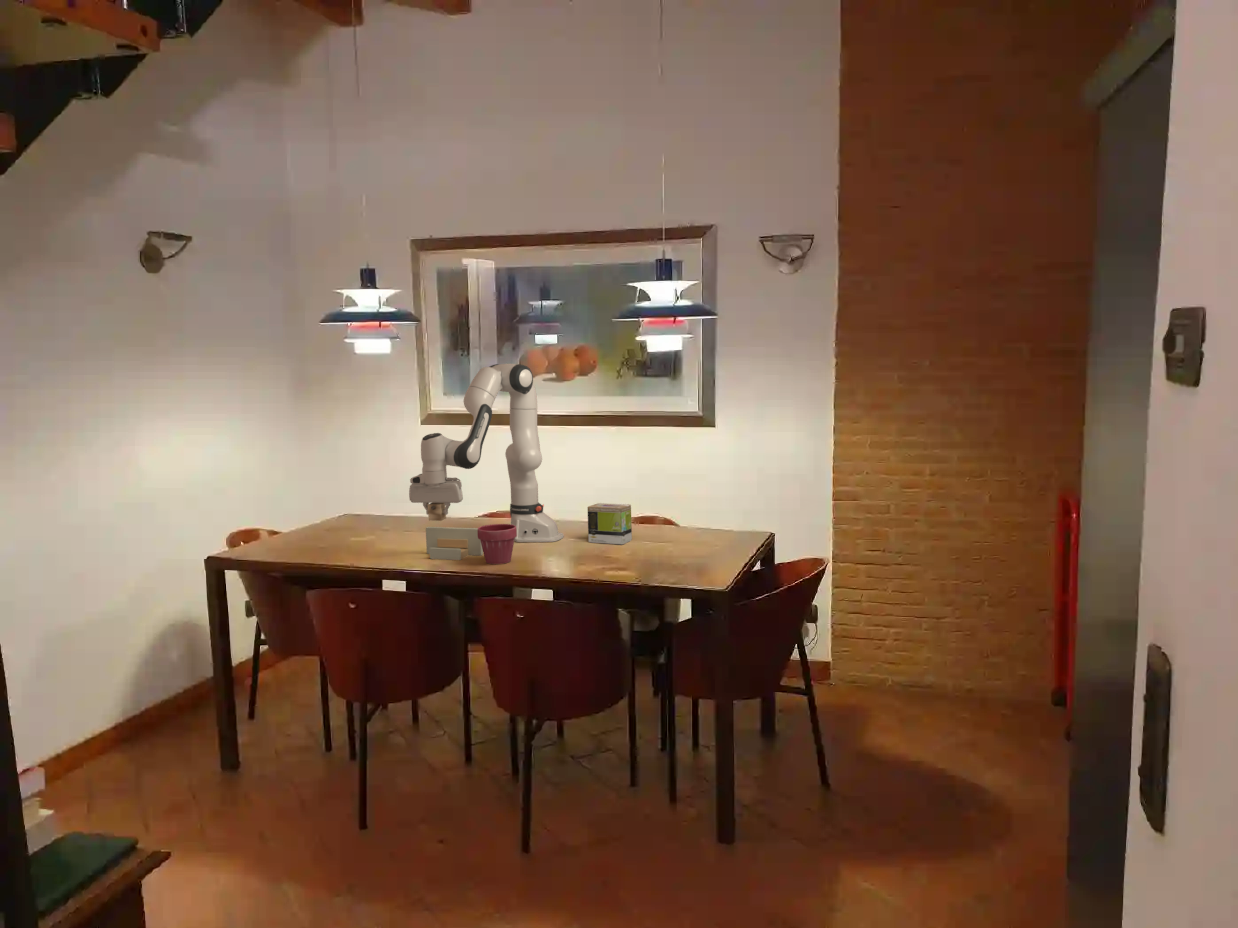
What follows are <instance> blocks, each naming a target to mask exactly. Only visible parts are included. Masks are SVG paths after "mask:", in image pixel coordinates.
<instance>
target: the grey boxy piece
mask: <svg viewBox="0 0 1238 928" xmlns="http://www.w3.org/2000/svg"><path fill="white" fill-rule="evenodd" d="M478 528H479V527H451V526H449V527H446V526H445V527H444V526H443V527H442V526H426V527H425V543H426V554H427V555H429V559H430V560H452V561H453V560H454V561H461V560H463V559H465V558H467V557H468V556H476V557H477V556H484V553H483V549H482V545H481V541H480V539H478Z"/></svg>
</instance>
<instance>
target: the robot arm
mask: <svg viewBox="0 0 1238 928" xmlns="http://www.w3.org/2000/svg"><path fill="white" fill-rule="evenodd" d="M499 392H503V393H504V392H505V393H508V394H509V397H510V400H509V429H510V433H511V440H512V443H510V444H509V445H508V446H507V447H506V450H505V454H504V455H505V459H506V465H507V471H508V478H509V484H510V504H509V513H510V514H509V515H510V524H511V525H515V526H516V530H517V536H516V537H515V538H514V542H516V543H540V542H541V543H545V542H547V543H549V542H551V543H553V542H558V541H560V540H562V539H563V538H564V533H563V532H559V529H558V524H557V522H556V521H555V520H554V519H553V518H551V517H550V515H547V514H546V513H545V512H544V507H545V504H544V503H543V504H542V503H540V502H539V483H538V479H537V476H536V472H535V471H536V470H537V469H538V468H539V467H541V464H542V462H543V456H542V452H541V447H540V446H541V445H540V437H539V431H538V398H537V391H536V385H535V384H534V376H533V372H532V370H531V369H530V367H528V366H527V365H524V364H520V363H519V364H517V363H501V364H499V363H496V364H492V365H490V366H483V367H482V368H480V369H479V370H478V371H477V373H476V374H475V376H474V377H473V379H472V380H471V382H470V384H469V386H468V387H467V390H466V392H465V394H464V396H463V401H462V402H463V406H464V408H465V410H466V411H467V412H468V413H469V414H471V416H472V417H473V422H472V425H471V427H470V429H469V433H468V436H467V437H466V438H465V439H464V440H455V439H451V438H449V437H446V436H445V435H443V434H442V433H439V432H434V433H429V434H425V435H424V436H423V437H422V439H421V442H420V458H421V461H422V469H421V473H419V474H418V475H416V476H412V477H410V479H409V482H410V485H409V488H408V489H409V491H408V492H409V493H408V494H409V501H410V502H411V503H418V504H419V503H420V504H421V503H422V506H423V508H424V509H425V510H426V515H428V504H430V503H444V504H445V509H444V510H442V512H443V513H442V514H443V515H446V516H447V515H448V514H449V508H450V507H451V504H459V503H461V502H462V501H463V499H464V496H463V491H462V480H460V479H459V478H458V477H448V475H447V474H448V473H447V467H448V466H451V467H457V468H462V469H465V470H470V469H473V468H475V467H476V466H477V465H478V464H479V462H480V461H481V457H482V449H483V444H484V442H485V439H486V436H487V433H488V430H489V427H490V424H491V421H492V416H493V409H492V408H493V406H494V403H495V400H496V398H497V396H498V393H499Z"/></svg>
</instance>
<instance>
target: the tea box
mask: <svg viewBox="0 0 1238 928" xmlns="http://www.w3.org/2000/svg"><path fill="white" fill-rule="evenodd" d="M632 526H633V525H632V505H631V504H629V503H628V504H626V503H625V504H624V503H623V504H622V503H604V502H603V503H602V502H597V503H593V504H592V505H589V506H587V533H588V534H587V535H588V543H594V544H595V543H597V544H609V545H624V544H627V543H629V542H632V539H633V535H632V534H633V531H632V530H633V529H632Z"/></svg>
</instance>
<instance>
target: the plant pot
mask: <svg viewBox="0 0 1238 928" xmlns="http://www.w3.org/2000/svg"><path fill="white" fill-rule="evenodd" d="M477 528H478V539H480V541H481V545H482V549H483V556H484V559H485V563H486V564H489V565H490V564H491V565H502V564H508V563H510V562H511V561H512V555H513V549H514V544H515V541H514V538H515V537H516V536H517V530H516V526H515V525H511V523H493V524H485V525H481V526H479V527H477Z"/></svg>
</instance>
